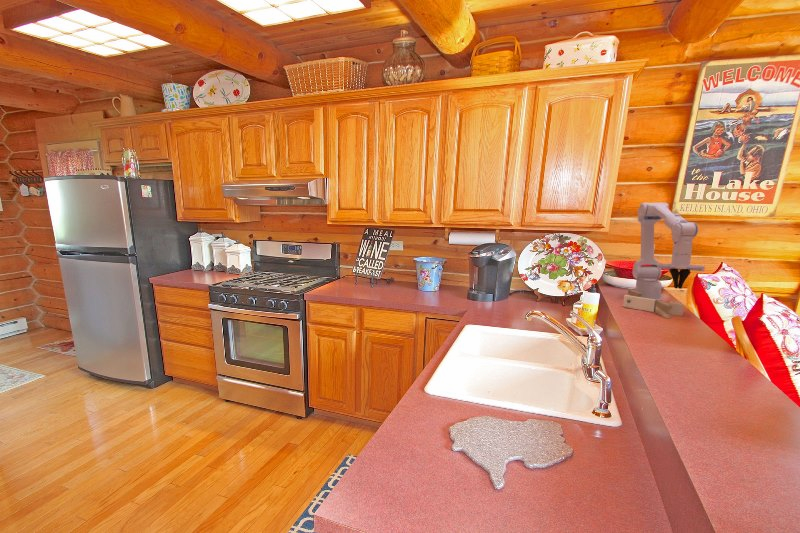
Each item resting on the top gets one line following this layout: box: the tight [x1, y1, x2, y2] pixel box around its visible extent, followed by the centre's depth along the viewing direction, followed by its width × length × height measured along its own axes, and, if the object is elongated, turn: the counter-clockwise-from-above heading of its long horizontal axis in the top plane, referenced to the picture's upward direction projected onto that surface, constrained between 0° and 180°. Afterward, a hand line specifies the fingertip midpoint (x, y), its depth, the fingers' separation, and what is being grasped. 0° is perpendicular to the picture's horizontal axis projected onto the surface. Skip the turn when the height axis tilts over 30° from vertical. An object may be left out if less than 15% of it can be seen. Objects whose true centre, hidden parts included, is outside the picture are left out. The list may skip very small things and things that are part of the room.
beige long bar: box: [627, 289, 672, 319], centre depth 148 cm, size 2×28×5 cm, turn 174°
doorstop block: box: [667, 300, 685, 316], centre depth 140 cm, size 4×4×4 cm
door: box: [622, 294, 659, 313], centre depth 146 cm, size 2×12×5 cm, turn 40°
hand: (677, 288), depth 139 cm, fingers closed
